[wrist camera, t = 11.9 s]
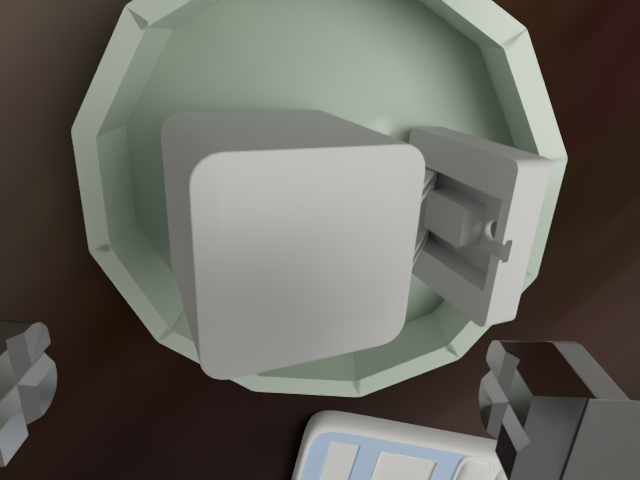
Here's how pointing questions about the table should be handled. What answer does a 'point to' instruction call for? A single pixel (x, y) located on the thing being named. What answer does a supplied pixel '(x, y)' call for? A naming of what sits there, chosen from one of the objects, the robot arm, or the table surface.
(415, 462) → the calculator
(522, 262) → the security camera
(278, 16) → the faceted green bowl
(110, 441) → the table surface
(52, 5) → the table surface
